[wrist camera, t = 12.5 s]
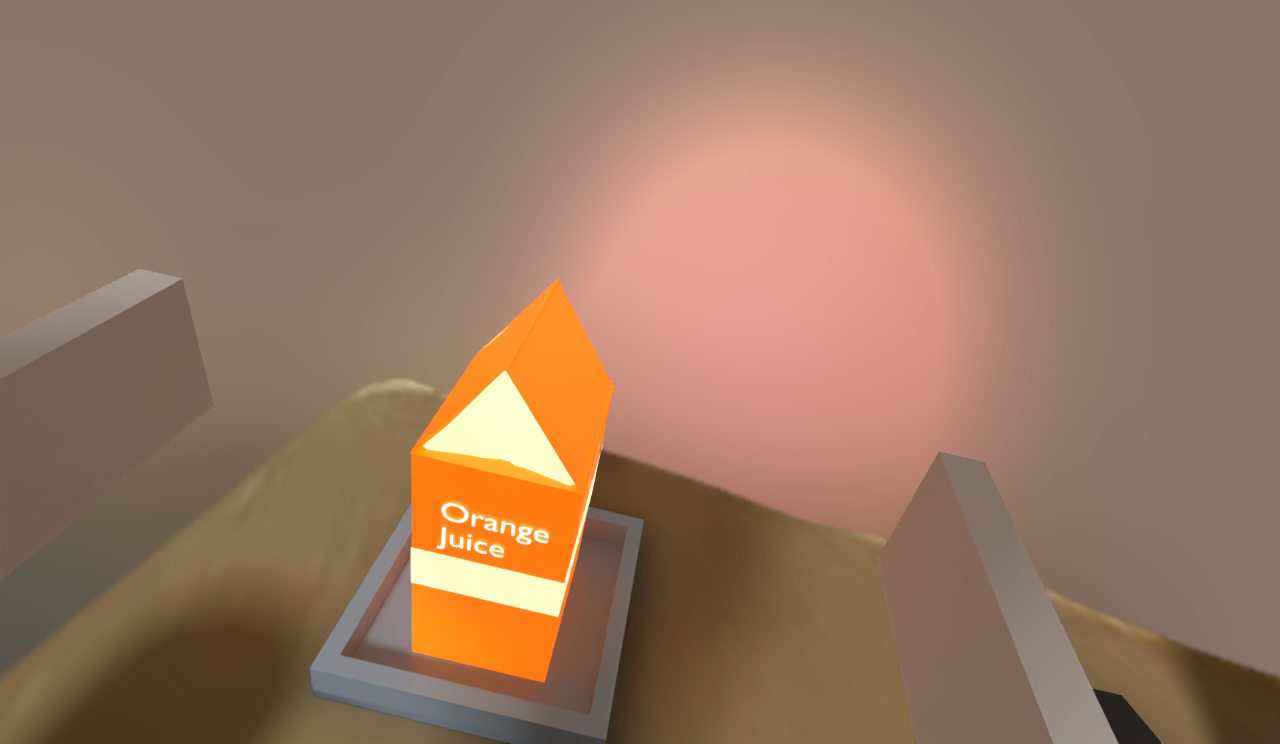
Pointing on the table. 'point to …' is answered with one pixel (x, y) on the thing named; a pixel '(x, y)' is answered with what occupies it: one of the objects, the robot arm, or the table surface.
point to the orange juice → (507, 493)
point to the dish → (477, 697)
